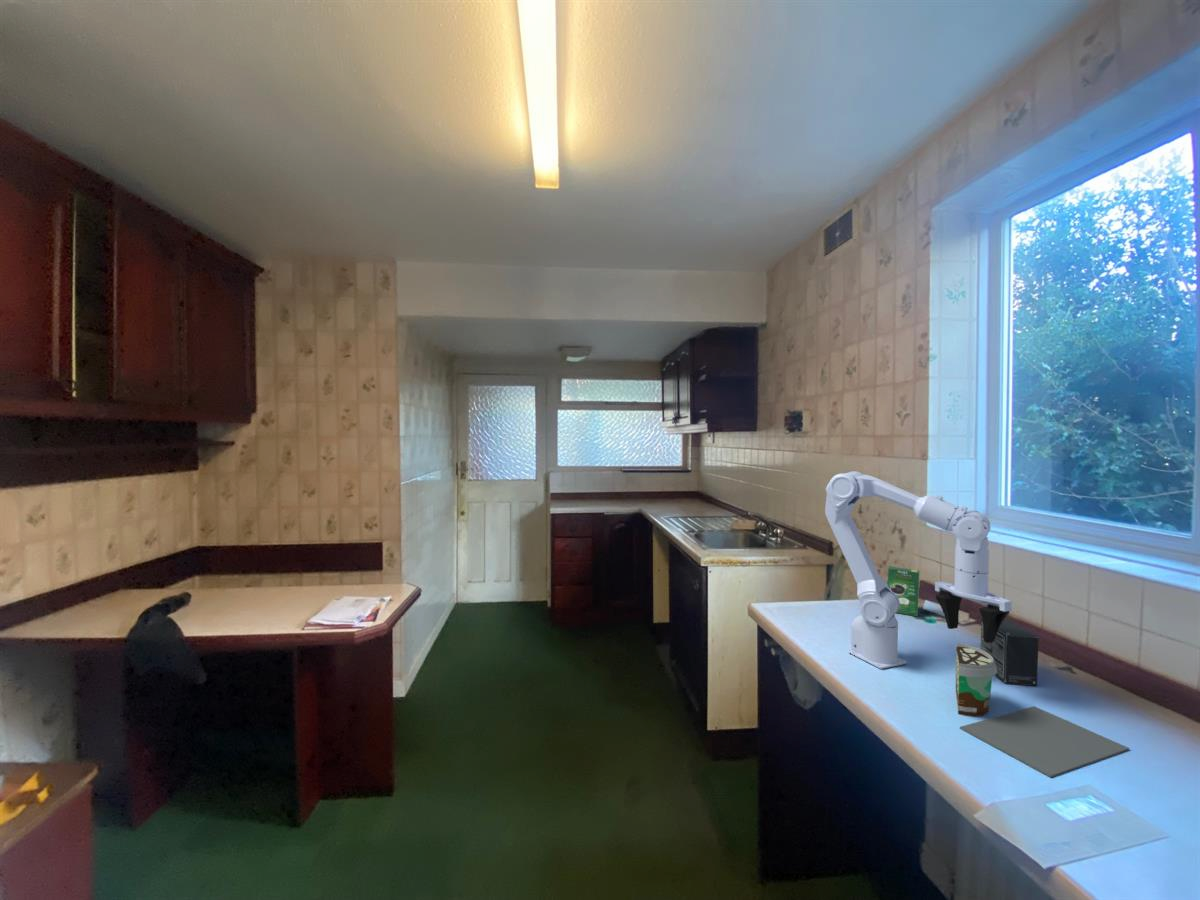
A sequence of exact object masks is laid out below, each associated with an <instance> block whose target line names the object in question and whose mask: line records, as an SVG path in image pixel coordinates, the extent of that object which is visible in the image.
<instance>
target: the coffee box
mask: <svg viewBox="0 0 1200 900" xmlns="http://www.w3.org/2000/svg"><path fill="white" fill-rule="evenodd" d="M887 570H888V571H887V585H888V587H889V589H890V590H891V591H892V592H893V593H895V594H896V595H897V597H898V599H899V601H900V608H899V610H898V612H897V613H896V614H901V615H906V616H910V615H911V617H918V614H919V592H920V590H919V589H920V570H919V569H912V568H911V569H910V568H903V567H899V566H898V567H897V566H888V569H887Z"/></svg>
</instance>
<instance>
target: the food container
mask: <svg viewBox="0 0 1200 900" xmlns="http://www.w3.org/2000/svg"><path fill="white" fill-rule="evenodd" d="M996 673H997V668H996V664H995V661H994V660H993V657H992V656H991V655H990V654H988V653H987V652H985V651H983V650H981V648H979V647H975V646H972V645H969V644H965V643H961V642H955V698H956V707H957V714H958V715H961V716H968V717H981V716H985V715H988V713H989V712H990V711H989V709H990V701H991V692H992V682H993V676H995V674H996Z"/></svg>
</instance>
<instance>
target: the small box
mask: <svg viewBox="0 0 1200 900" xmlns="http://www.w3.org/2000/svg"><path fill="white" fill-rule="evenodd" d="M980 629H981V630H980V631H981V632H980V649H981V650H983V651H985V652H987V653H988V654H990V655H991V656H992V657H993V660H994V661H995V664H996V668H997V673H996V674H995V675H994V677H995V676H996V678H997V679H998V680H1000V681H1001V682H1002V683H1003V684H1009V685H1021V686H1031V687H1032V686H1033V687H1038V667H1039V666H1038V664H1039V661H1038V660H1039V639H1040V638H1039V637H1038V636H1037V635H1035V634H1034V633H1032V632H1030V631H1029V630H1027V629H1026V628H1024V627H1022V626H1020V625H1018V624H1017V623H1016V622H1014V621H1012V620H1009V619H1004V620H1003V622H1002V623H1001V625H1000V627H999V629H998V631H997V634H996V637H995V641H994V642H989V643H987V642H984V638H983V620H982V617H981V618H980Z"/></svg>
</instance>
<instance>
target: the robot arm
mask: <svg viewBox="0 0 1200 900" xmlns="http://www.w3.org/2000/svg"><path fill="white" fill-rule="evenodd" d="M824 490H825V493H826V498H825V507H824V508H825V509H824V513H825V517H826V519H827V521H828V523H829V526H830V528H831V530H832V532H833V534H834V535H833V536H834V537H835V539H836V541H837V543H838V545H839V547H840V549H841V552H842V555H843V557H844V558H845V561H846V563H847V565H848V567H849V569H850V572H851V573H852V576H853V578H854V581H855V582H856V586H857V587H856V589H857V590H856V593H857V595H856V596H857V598H858V600H859V606H860V607H859V612H860V615H857V616H856V617H855V618H854V619H853V620H852V623H851V631H850V632H851V633H850V637H851V638H850V640H851V641H850V642H851V643H850V645H851V646H850V650H848V653H849V654H850V653H851V655H852V656H854V655H855V657H857V658H858V659H860V660H862V661H864V662H865V663H869V664H870V665H872V666H875V667H876V668H878V669H879V670H880V669H881V670H883V669H887V668H893V667H897V666H901V665H902V666H903V665H907V664H908V661H907V660H905V659H903V658H900V657H898V655H899V654H898V653H899V652H898V650H899V649H898V648H899V647H898V646H899V645H898V644H899V639H898V637H899V635H898V634H899V632H898V631H899V622H898V619H897V618H896V614H898V613H897V612H898V610H899V608H900V601H899V599H898V597H897V595H896V594H895V593H893V592H892V591H891V590H890V589H889V587H888V582H886V581H885V580H884V579H883V578H882V577H881V576H880V574H879V572H878V570H877V568H876V566H875V564H874V562H873V559H872V557H871V555H870V553H869V551H868V549H867V547H866V544H865V543H864V540H863V538H862V535H861V534H860V532H859V530H858V528H857V525H856V523H855V521H854V520H853V517H852V515H851V512H852V510H853V508H854V507H855V505H856V502H857V501H859V500H860V498H868V497H876V498H880V499H882V500H885V501H888V502H891V503H894V504H896V505H898V506H901V507H904V508H906V509H909V510H912V511H913V512H914V514H915V515H916V519H918V520H921V521H923V522H926V523H928V524H930V525H932V526H934V527H937V528H940V529H942V530H944V531H946V532H949V533H950V532H951V533H953V534H954V535H955V539H956V540H955V541H956V542H955V547H954V583H951V582H946V581H943V580H942V581H935V582H934V591H935V592H937V593H938V594H935V600H937V602H938V603H939V606H940V608H941V610H942V613H943V615H944V619H945V622H946V625H947V629H948V630H953V629H958V628H959V617H960V616H959V615H960V614H959V613H960V606H961V604H962V603H961V602H962V599H965V600H968V601H970V602H971V601H972V602H975V603H978V604H982V605H985V606H984V607H980V608H979V612H980V615H981V618H982V620H983V638H984V642H987V643H989V642H994V641H995V637H996V634H997V631H998V629H999V627H1000V625H1001V623H1002V622H1003V620H1006V617H1007V616H1009V614H1010V612H1011V611H1012V605H1013V604H1012V600H1011V599H1010V600H1009V599H1006V598H1003V597H1002V596H999V595H996V594H994V593H992V592H990V591H989V571H990V570H989V568H990V567H989V564H990V559H989V558H990V551H989V537H988V534H989V533H990V531H991V522H990V519H989V518H988V517H987V516H986V515H985V514H983V513H981V512H980V511H979V510H975V509H974V510H973V509H972V510H968V507H967V506H966V505H962V506H958V505H956V504H953V503H951V502H948V501H946V500H944V497H943V496H942V495H939V494H935V496H933V495H930V494H928V495H925V496H922V497H921V496H918V495H916V494H914V493H912V492H909V491H907V490H905V489H903V488H900V487H898V486H895V485H893V484H891V483H889V482H886V481H885V480H882V479H880V478H877V477H875V476H872V475H870V474H863V473H861V472H859V471H856V470H855V471H848V472H846V473H838V474H836V475H835V474H834V476H833V477H832V478H830V481H829V482H828V483H827V486H826V487H825V489H824Z"/></svg>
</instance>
